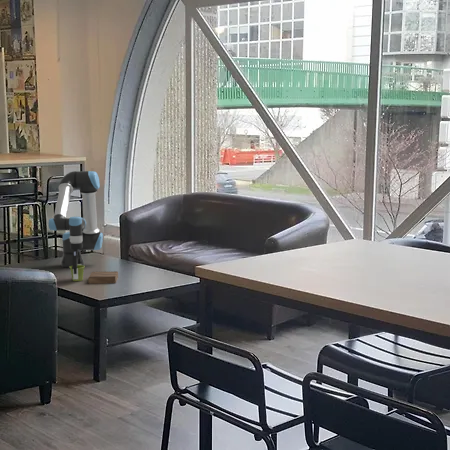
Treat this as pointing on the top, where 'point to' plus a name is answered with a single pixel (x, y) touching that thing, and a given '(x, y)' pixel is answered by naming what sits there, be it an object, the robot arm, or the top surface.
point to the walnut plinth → (103, 277)
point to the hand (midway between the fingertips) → (77, 276)
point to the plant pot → (80, 272)
